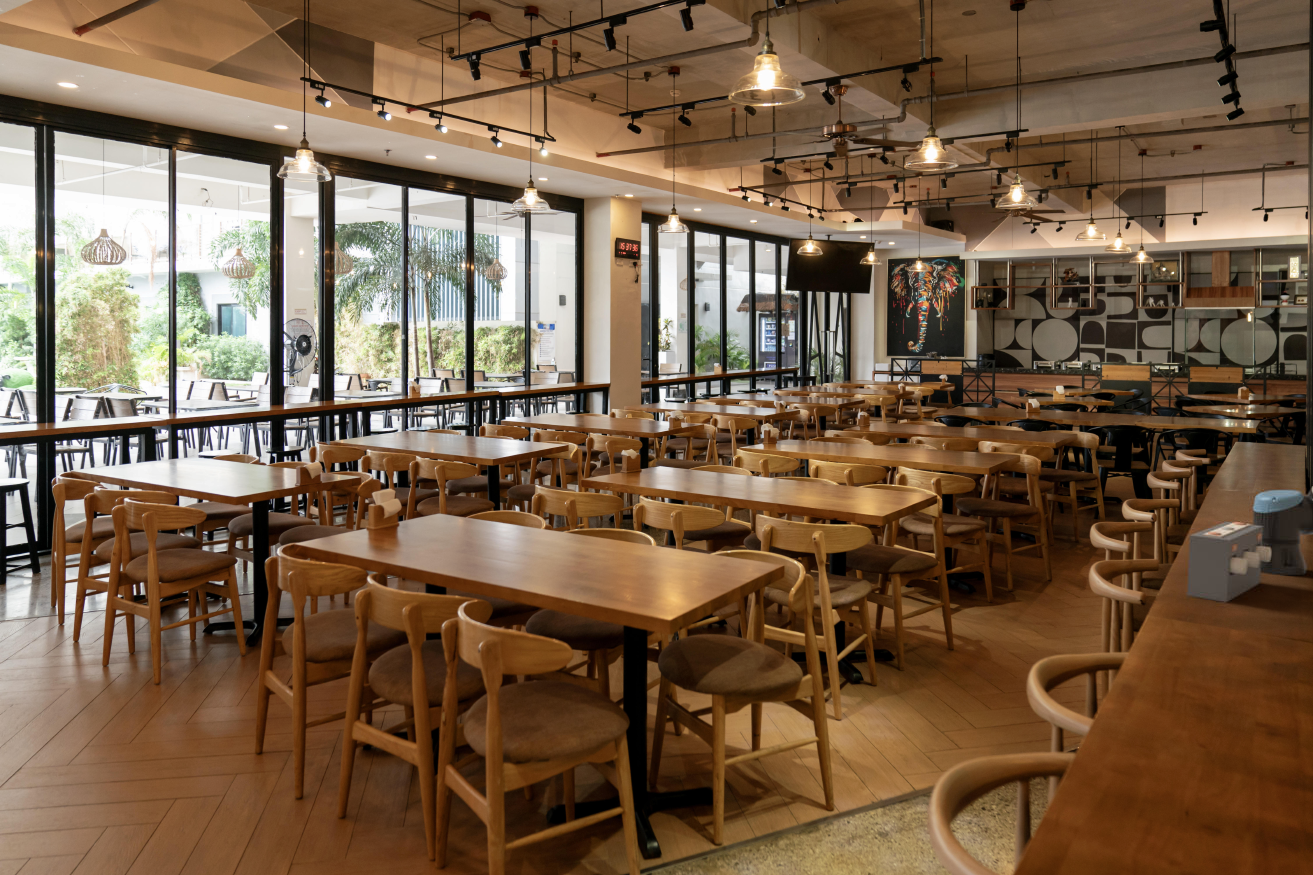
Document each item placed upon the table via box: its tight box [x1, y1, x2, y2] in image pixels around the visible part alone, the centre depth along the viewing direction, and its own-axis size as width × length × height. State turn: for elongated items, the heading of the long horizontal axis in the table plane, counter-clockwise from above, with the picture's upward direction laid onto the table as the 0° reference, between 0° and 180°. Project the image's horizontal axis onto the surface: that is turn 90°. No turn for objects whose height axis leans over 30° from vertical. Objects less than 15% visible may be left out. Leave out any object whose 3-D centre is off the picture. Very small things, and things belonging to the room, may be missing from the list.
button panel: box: [1186, 521, 1263, 603], centre depth 241 cm, size 30×9×17 cm, turn 132°
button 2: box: [1255, 545, 1271, 562], centre depth 245 cm, size 4×6×4 cm
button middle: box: [1243, 551, 1260, 568], centre depth 238 cm, size 4×6×4 cm
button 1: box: [1230, 557, 1248, 575], centre depth 230 cm, size 4×6×4 cm
